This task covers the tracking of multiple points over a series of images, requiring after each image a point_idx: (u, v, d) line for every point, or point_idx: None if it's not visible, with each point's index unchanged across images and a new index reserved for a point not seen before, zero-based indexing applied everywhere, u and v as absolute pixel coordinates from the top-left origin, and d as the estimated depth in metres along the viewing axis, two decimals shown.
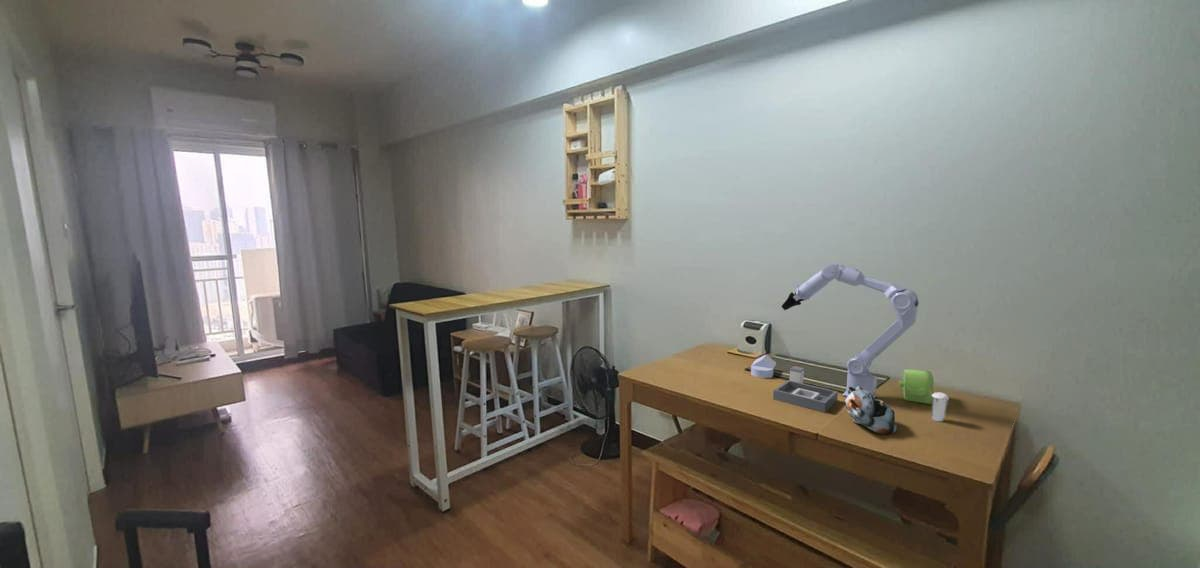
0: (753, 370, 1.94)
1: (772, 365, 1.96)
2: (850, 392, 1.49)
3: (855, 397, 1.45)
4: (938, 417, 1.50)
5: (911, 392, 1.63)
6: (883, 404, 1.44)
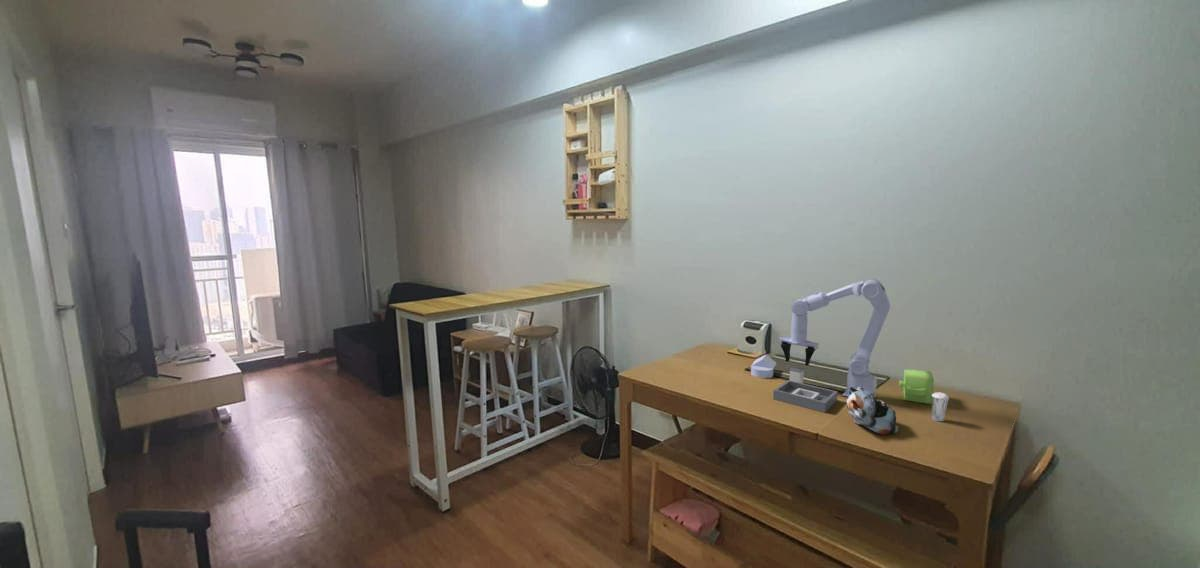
0: (753, 370, 1.94)
1: (772, 365, 1.96)
2: (851, 393, 1.48)
3: (856, 398, 1.45)
4: (938, 417, 1.50)
5: (911, 392, 1.63)
6: (884, 405, 1.43)
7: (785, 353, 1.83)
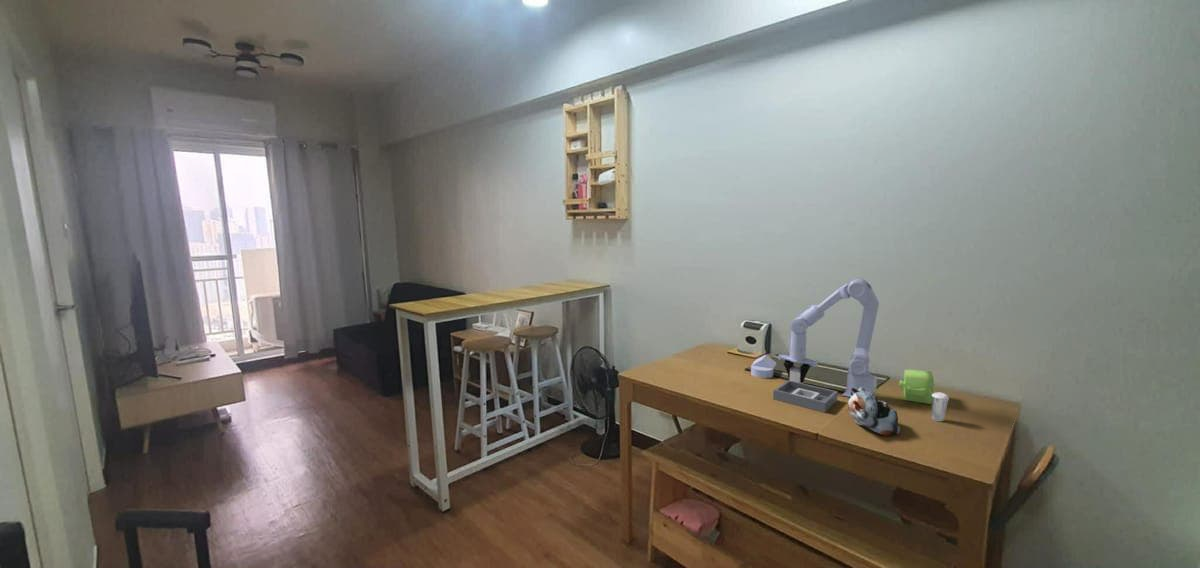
0: (753, 370, 1.94)
1: (772, 365, 1.96)
2: (853, 393, 1.47)
3: (858, 398, 1.44)
4: (938, 417, 1.50)
5: (911, 392, 1.63)
6: (886, 405, 1.43)
7: (788, 371, 1.83)
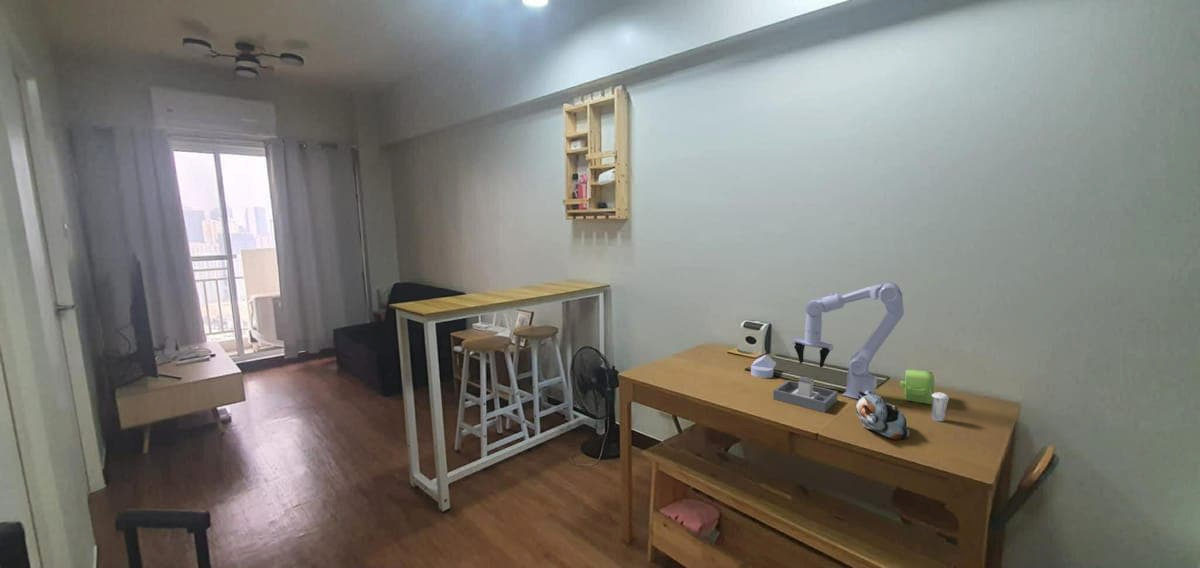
0: (753, 370, 1.94)
1: (772, 365, 1.96)
2: (861, 397, 1.44)
3: (867, 402, 1.41)
4: (938, 417, 1.50)
5: (911, 392, 1.63)
6: (895, 408, 1.40)
7: (799, 354, 1.81)
